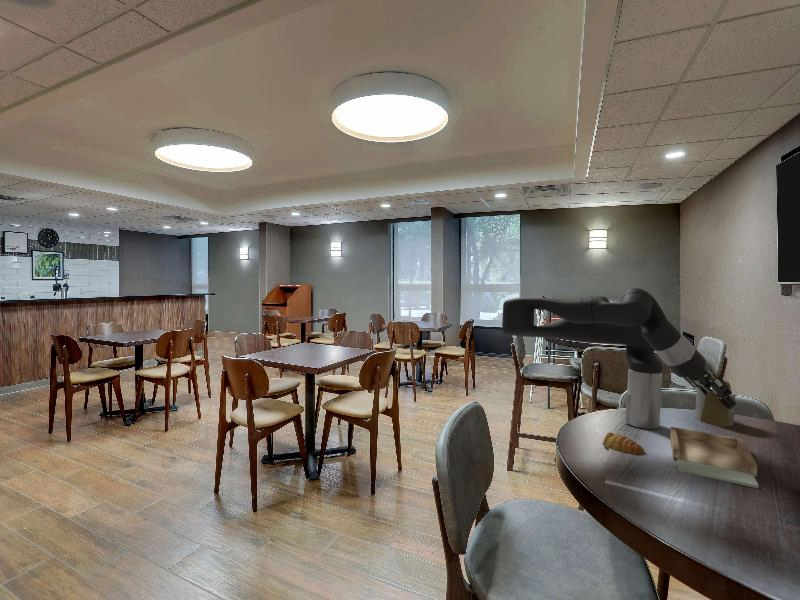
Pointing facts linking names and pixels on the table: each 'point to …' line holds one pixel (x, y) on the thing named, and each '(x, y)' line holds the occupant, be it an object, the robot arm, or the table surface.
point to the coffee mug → (700, 404)
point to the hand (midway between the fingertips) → (723, 402)
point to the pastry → (622, 444)
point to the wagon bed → (712, 450)
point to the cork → (715, 410)
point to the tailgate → (717, 473)
